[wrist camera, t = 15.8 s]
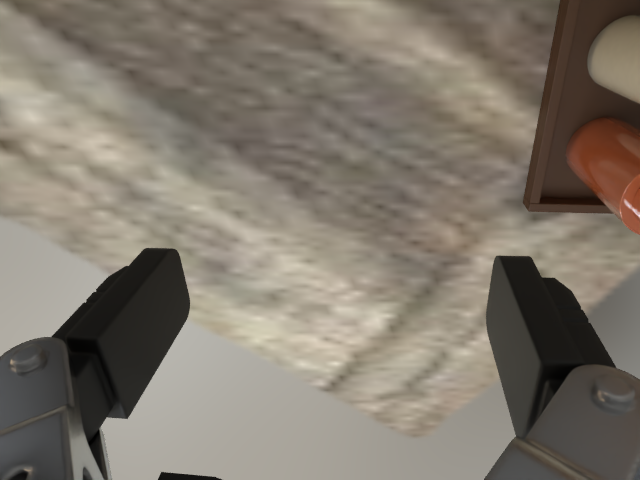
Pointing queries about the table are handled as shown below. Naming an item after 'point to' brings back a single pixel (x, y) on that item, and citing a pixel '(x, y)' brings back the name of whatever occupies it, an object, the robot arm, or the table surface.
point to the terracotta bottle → (609, 165)
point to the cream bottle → (617, 58)
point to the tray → (573, 106)
